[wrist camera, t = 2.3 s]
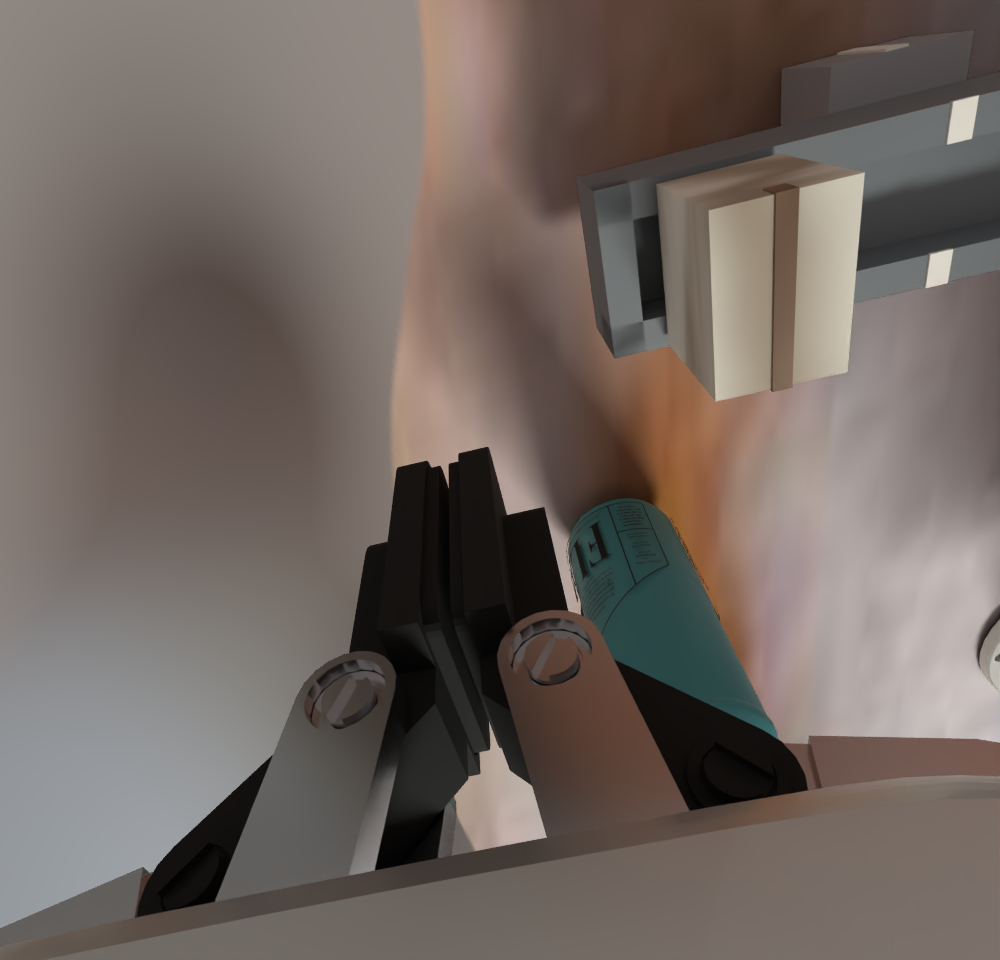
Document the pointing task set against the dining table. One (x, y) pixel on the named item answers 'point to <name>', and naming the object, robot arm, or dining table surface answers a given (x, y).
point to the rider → (761, 272)
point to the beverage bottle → (657, 606)
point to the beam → (839, 142)
